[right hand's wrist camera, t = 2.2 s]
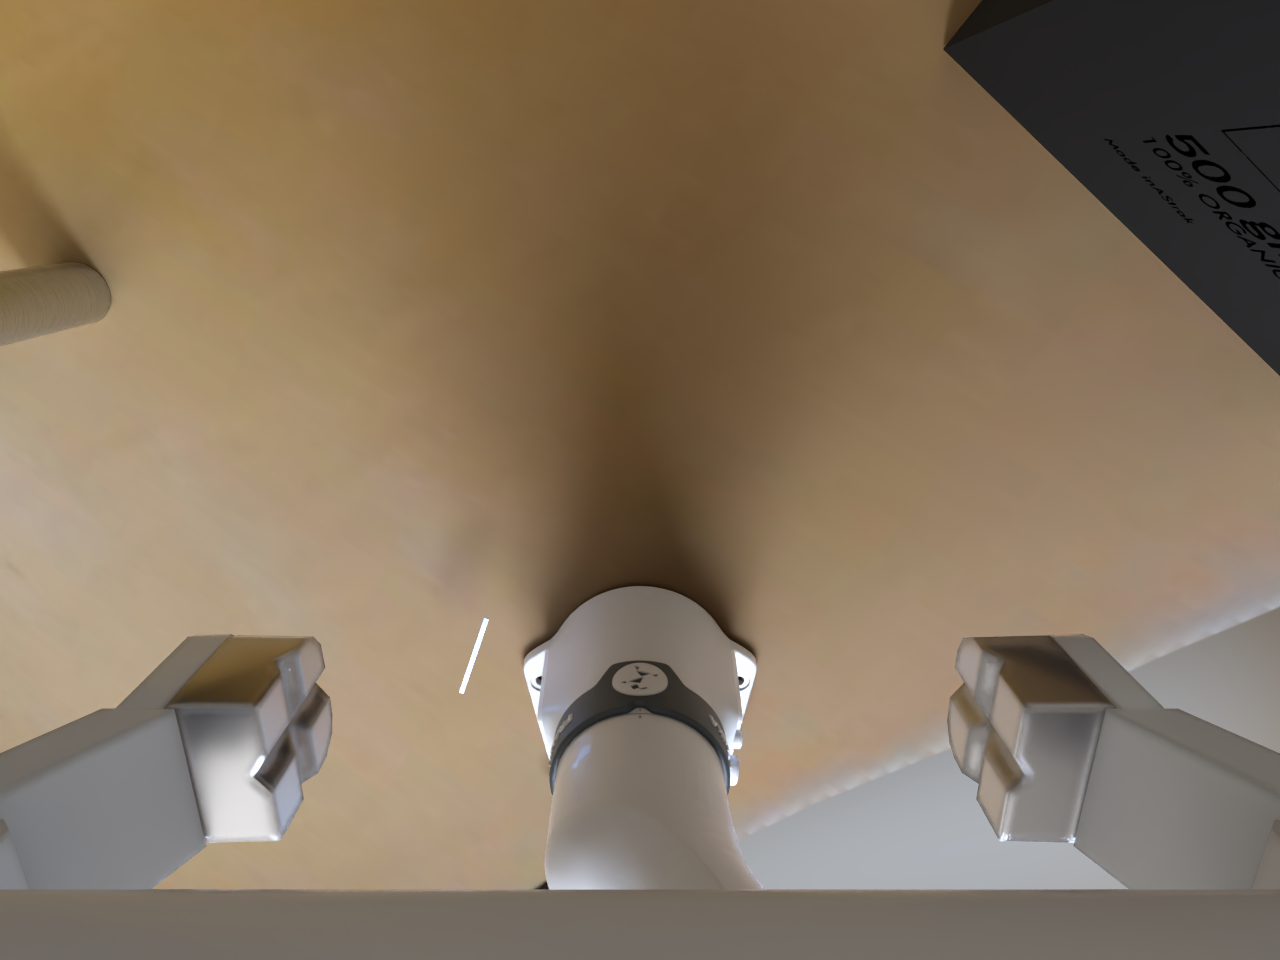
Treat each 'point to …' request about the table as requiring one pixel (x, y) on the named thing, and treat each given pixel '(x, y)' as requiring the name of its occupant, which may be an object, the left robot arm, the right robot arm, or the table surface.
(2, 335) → the jar
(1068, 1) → the cardboard box
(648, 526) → the table surface
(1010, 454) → the table surface
